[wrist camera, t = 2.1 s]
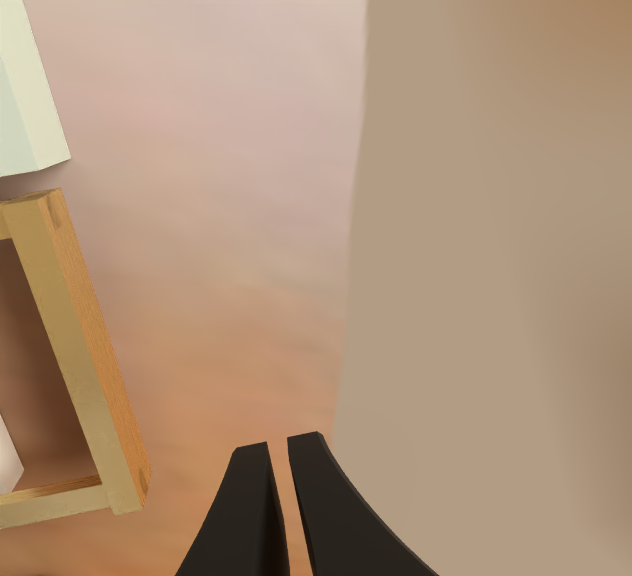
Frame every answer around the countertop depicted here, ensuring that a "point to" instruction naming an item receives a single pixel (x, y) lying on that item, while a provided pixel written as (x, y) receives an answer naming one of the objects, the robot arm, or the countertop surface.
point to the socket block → (8, 462)
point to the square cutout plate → (25, 99)
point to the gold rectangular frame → (75, 367)
